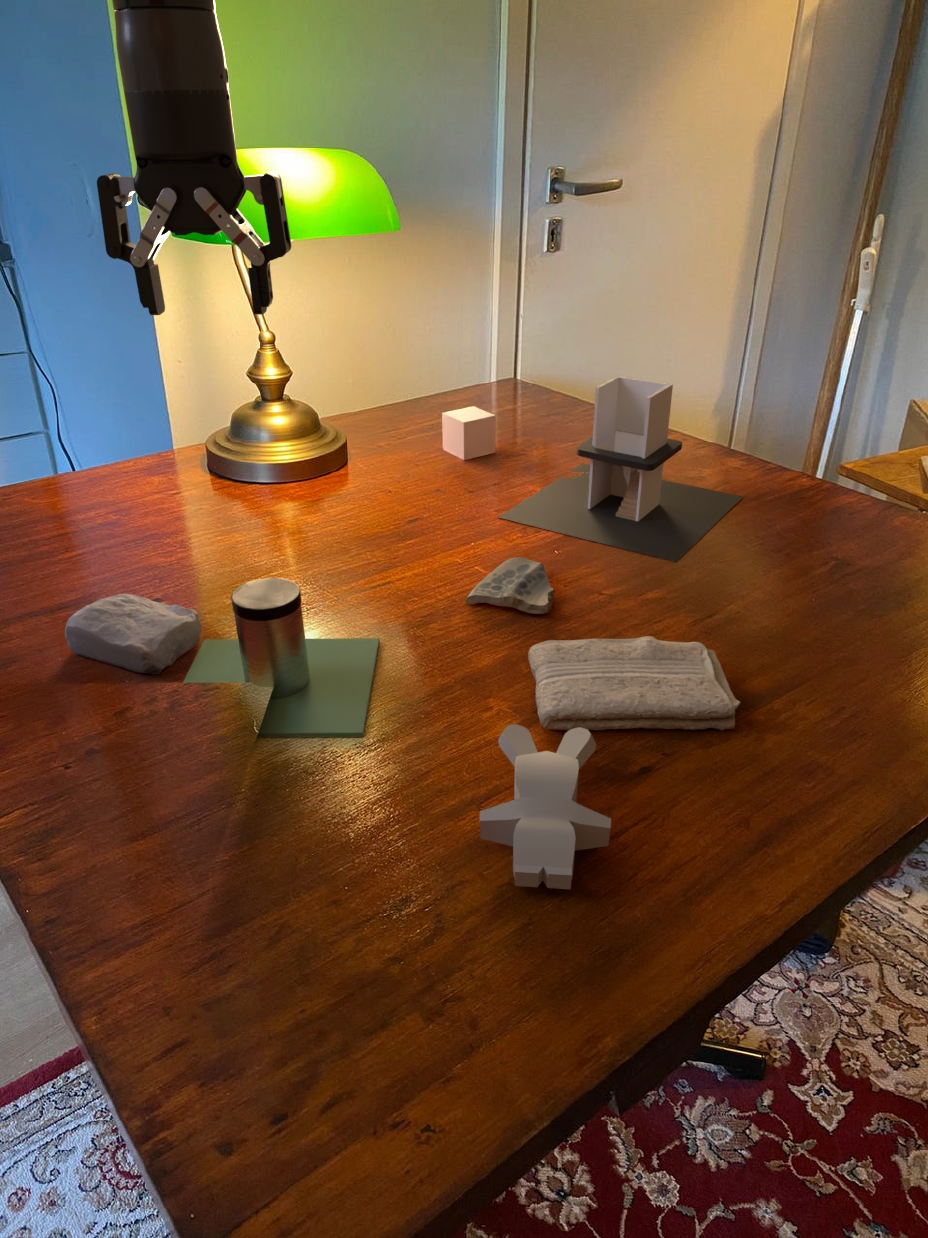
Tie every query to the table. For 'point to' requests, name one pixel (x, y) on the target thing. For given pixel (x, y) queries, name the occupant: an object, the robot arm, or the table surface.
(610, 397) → the box stand
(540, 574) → the ceramic fragment
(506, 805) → the bunny figurine
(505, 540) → the table surface
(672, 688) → the washcloth
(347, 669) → the mat
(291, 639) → the thermos cup
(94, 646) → the stone block
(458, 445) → the white cube
